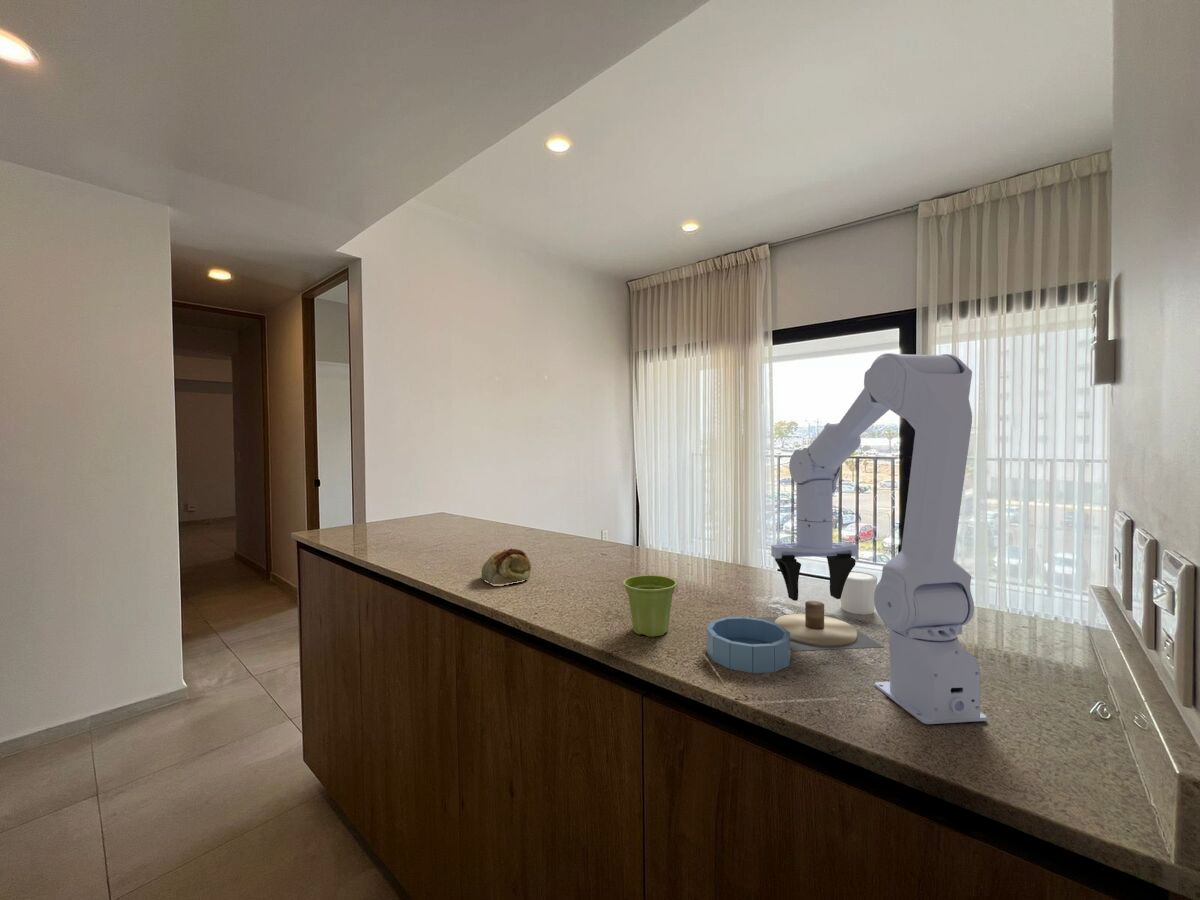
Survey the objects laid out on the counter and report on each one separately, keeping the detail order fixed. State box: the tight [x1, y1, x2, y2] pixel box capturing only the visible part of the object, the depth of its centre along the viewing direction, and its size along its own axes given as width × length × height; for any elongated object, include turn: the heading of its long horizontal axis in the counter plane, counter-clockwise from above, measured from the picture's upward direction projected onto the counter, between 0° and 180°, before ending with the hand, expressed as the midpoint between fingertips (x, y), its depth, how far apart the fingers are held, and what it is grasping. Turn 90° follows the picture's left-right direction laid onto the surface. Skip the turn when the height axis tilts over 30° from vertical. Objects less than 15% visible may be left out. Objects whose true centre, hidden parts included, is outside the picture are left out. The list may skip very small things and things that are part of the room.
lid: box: [775, 600, 857, 646], centre depth 86 cm, size 13×13×5 cm
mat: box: [756, 614, 885, 652], centre depth 86 cm, size 15×15×1 cm
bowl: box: [706, 616, 791, 674], centre depth 77 cm, size 12×12×4 cm
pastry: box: [481, 548, 532, 584], centre depth 123 cm, size 14×12×8 cm
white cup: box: [840, 570, 878, 615], centre depth 97 cm, size 7×7×7 cm
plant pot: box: [622, 574, 678, 638], centre depth 88 cm, size 9×9×9 cm
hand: (814, 598), depth 86 cm, fingers open, 7 cm apart
